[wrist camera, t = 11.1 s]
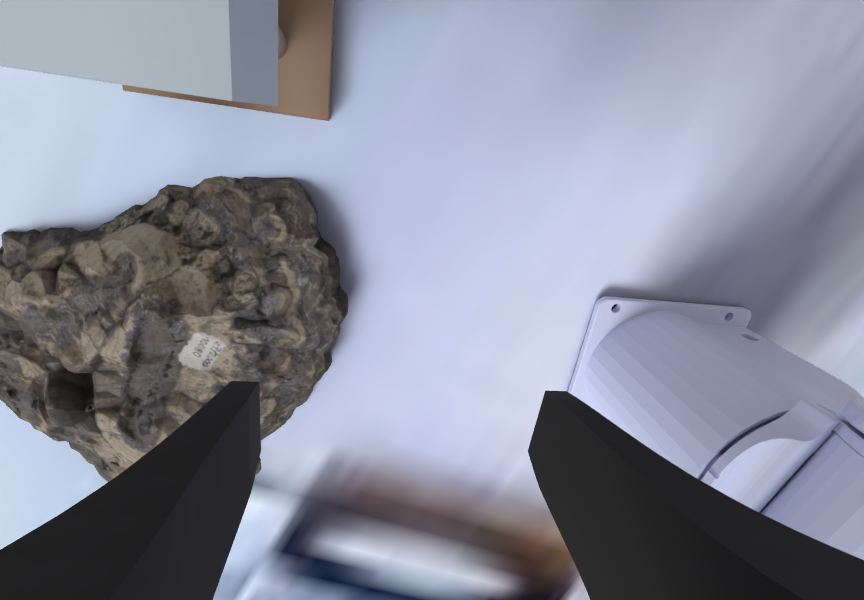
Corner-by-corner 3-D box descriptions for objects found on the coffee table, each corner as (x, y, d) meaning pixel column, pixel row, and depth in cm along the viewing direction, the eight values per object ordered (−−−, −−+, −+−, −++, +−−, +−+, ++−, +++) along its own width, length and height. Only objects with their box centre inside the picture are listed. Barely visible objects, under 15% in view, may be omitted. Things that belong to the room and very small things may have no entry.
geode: (-72, 418, 20) (237, 508, 25) (-165, 482, 16) (216, 571, 21) (52, 34, 15) (404, 241, 20) (-42, 8, 12) (413, 266, 17)
